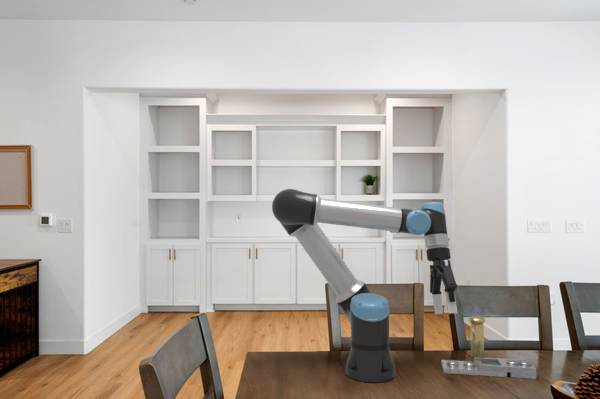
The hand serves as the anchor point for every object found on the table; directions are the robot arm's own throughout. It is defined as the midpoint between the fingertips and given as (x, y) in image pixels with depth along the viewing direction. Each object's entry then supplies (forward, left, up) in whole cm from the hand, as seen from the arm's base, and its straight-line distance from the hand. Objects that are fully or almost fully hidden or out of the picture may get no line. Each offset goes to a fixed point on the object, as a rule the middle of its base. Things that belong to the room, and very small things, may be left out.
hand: (445, 313), depth 146 cm
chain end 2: (+17, -4, -16) cm, 24 cm away
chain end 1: (+8, -4, -16) cm, 18 cm away
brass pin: (+11, +6, -16) cm, 20 cm away
